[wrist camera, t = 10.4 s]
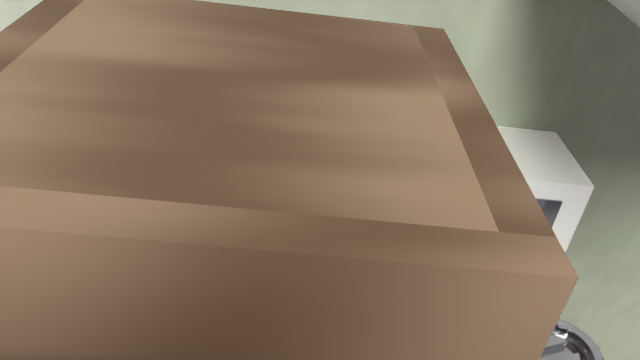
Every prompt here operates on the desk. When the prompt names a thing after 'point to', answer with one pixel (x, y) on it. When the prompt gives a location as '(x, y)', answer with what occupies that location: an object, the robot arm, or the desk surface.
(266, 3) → the desk surface
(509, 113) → the desk surface
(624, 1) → the white cup
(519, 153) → the cube
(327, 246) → the brown open box
